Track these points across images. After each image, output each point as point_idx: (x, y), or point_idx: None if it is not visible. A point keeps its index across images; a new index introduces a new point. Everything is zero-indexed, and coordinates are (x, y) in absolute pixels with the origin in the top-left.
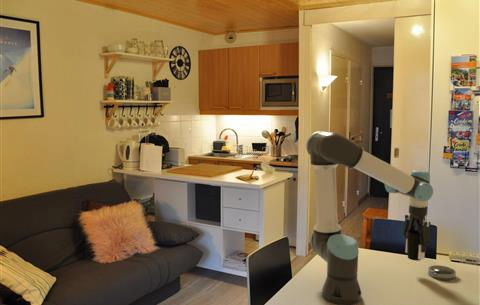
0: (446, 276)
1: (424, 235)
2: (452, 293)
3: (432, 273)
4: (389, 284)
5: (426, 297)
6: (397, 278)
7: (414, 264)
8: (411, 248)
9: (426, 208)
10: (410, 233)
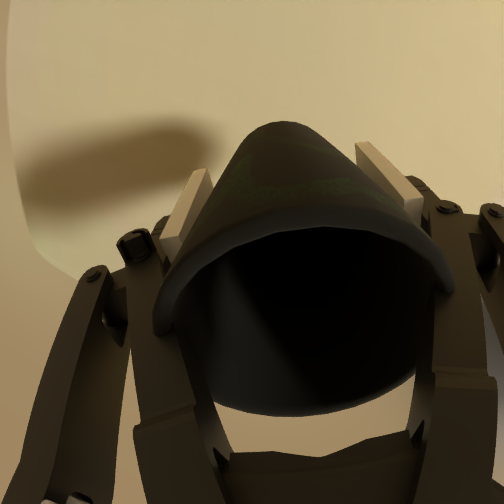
0: None
1: (62, 354)
2: (65, 210)
3: None
4: None
5: (24, 94)
6: (224, 20)
7: None
8: (246, 150)
9: None
10: (247, 221)
